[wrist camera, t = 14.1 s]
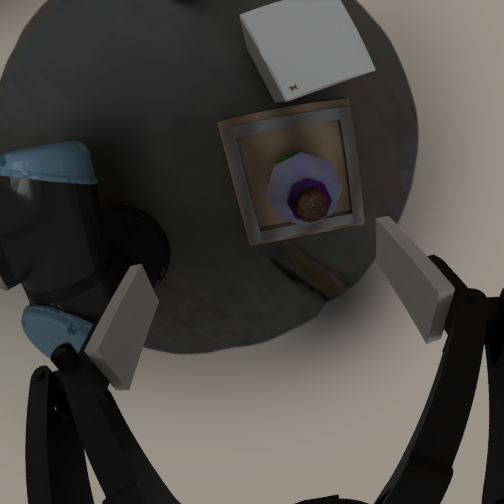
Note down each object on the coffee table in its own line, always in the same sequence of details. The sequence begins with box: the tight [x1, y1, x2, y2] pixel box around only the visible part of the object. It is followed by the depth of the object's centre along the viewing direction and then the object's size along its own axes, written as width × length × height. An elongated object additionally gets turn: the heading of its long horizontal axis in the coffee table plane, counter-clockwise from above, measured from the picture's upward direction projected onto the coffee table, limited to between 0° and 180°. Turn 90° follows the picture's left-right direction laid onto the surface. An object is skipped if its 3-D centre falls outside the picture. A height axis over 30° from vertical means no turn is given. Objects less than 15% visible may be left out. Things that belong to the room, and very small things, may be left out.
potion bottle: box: [265, 152, 343, 226], centre depth 32 cm, size 9×9×12 cm
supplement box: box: [240, 0, 375, 103], centre depth 25 cm, size 9×9×15 cm
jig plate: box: [217, 98, 364, 246], centre depth 37 cm, size 17×18×3 cm
